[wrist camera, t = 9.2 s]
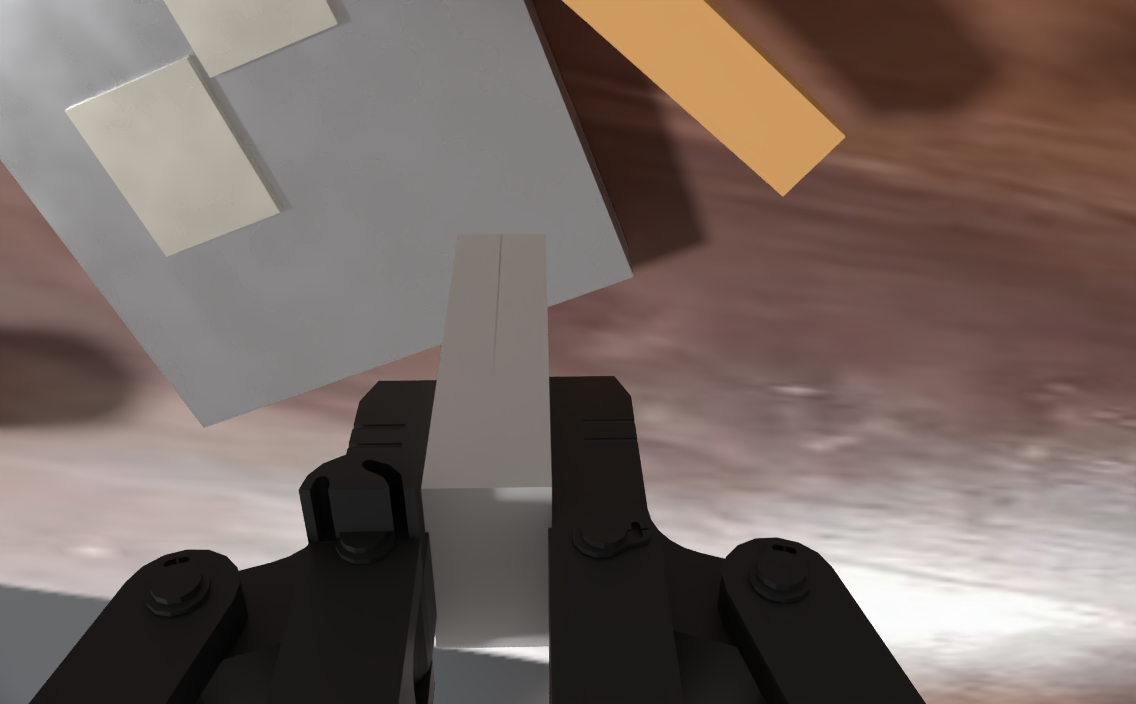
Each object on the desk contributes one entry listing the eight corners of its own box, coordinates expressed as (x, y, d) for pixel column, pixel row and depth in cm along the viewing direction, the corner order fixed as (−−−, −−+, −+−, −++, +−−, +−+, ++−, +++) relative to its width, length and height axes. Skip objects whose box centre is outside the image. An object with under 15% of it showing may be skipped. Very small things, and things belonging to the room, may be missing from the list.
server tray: (-192, -183, 25) (-351, -162, 21) (349, -464, 23) (303, -511, 18) (222, 388, 36) (176, 486, 31) (627, 243, 33) (643, 327, 29)
